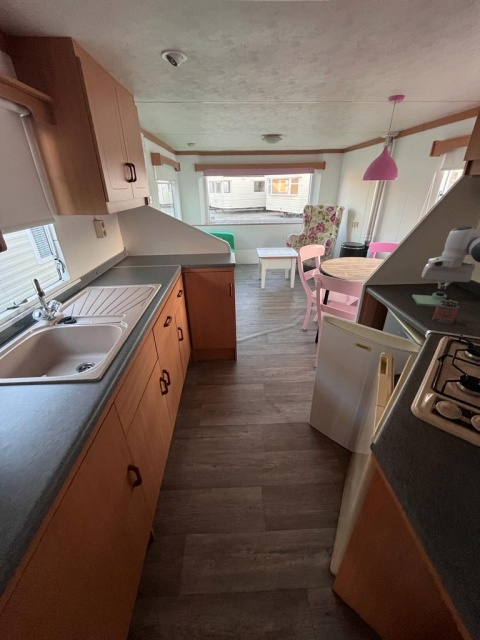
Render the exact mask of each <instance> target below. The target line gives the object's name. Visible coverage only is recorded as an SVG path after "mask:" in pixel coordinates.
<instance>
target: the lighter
mask: <svg viewBox="0 0 480 640" xmlns="http://www.w3.org/2000/svg"><path fill="white" fill-rule="evenodd" d="M440 303H443V304H437V305H436V306H437V307H435V310H434V313H433V316H432V317H431V320H432V321H433V322H437V323H442V324H454V323H455V319H456V317H457V313H458V311H459V310H460V306H459V305H458V304H459V302H458V301H456V300H452V299H449V300H448V299H446V300H443V299H441V300H440ZM445 303H446V304H445Z"/></svg>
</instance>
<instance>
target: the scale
mask: <svg viewBox="0 0 480 640" xmlns="http://www.w3.org/2000/svg"><path fill="white" fill-rule="evenodd" d="M436 293H437V292H433V293H432V294H431V295H424V294H411V298H412V299H413V301H414V302H415V304H416V305H417V306H422V307H433V308H434V307H435V308H436V307H437V306H436V305H437V304H443V303H440V300H441V299H443V300H447V298H448V295H447V294H445V293H444V296H437V295H436ZM445 304H446V303H445Z"/></svg>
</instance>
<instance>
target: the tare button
mask: <svg viewBox="0 0 480 640" xmlns="http://www.w3.org/2000/svg"><path fill="white" fill-rule="evenodd" d="M435 293H436V295H437V296H444V294H445V292H444V291H438V290H437V291H436V292H435Z"/></svg>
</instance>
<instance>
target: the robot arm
mask: <svg viewBox="0 0 480 640" xmlns="http://www.w3.org/2000/svg"><path fill="white" fill-rule="evenodd" d="M466 256H471V257H472V259H473V260H474V261H475V262H477V263H480V231H477V230H476V229H475V228H473V227H472V226H458V227H454V228H453V229H451V231H450V232H449V234H448V235H447V238H446V242H445V244H444V250H443V252H441V256H437V257H433V258H429V259H428V261H427V262H428V263H427V264H425V266H424V267H423V270H422V272H421V278H422V279H423V280H426V281H429V280H430V281H437V289H439V290H446V289H447V287H448V286H449V285H450V284H451V283H452V282H457V283H469V282H470V281H471V280H472V277H473V273H474V271H475V269H476V265H475V263H473V262H464V260H465V257H466ZM443 282H445V283H444V284H442V283H443Z"/></svg>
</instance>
